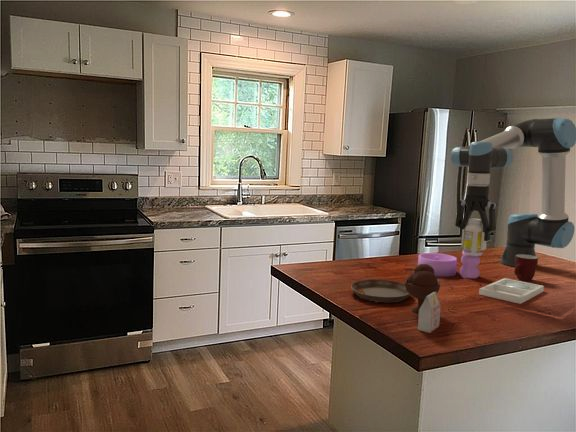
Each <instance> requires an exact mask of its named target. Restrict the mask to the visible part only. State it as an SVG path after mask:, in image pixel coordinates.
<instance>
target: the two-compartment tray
mask: <svg viewBox="0 0 576 432" xmlns="http://www.w3.org/2000/svg"><path fill="white" fill-rule="evenodd" d="M507 283H518V284H523V285H527V286H529V287H530V291H529V290H525V289H520V288H515V287H510V286H506V284H507ZM544 288H545V285H542V284H541V285H540V284H535V283H532V282H528V281H522V280H518V279H517V280H516V279H511V278H508V277H507V278H506V277H504V278H502V279H499V280H496V281H494V282H492V283H489V284H487V285H484V286H483V287H480V288H478V289H479V290H478V291H479V292H478V295H480V296H484V297H489V298H493V299H498V300H503V301H506V302H511V303H515V304H519V305H520V304H523V303H525V302H527V301H529V300H530V299H533V298H534V297H536V296H538V295H540V294H542V293H543V292H544Z"/></svg>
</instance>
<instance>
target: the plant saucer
mask: <svg viewBox="0 0 576 432" xmlns="http://www.w3.org/2000/svg"><path fill="white" fill-rule="evenodd" d="M350 287H351V290H352V291H353V293H354V294H355V295H356V296H357V297H358V296H359V297H358V298H360V299H362V298H363V299H362V300H364V299H366V300H365V301H367V300H369V301H368V302H371V301H375V302H374V303H378V302H385V303H384V304H390V303H389V302H396V303H400V302H402V301H405V300H406V299H407V298H408V297H409V296H411V295H410V294H409V293H408V292H407V290H406V288H405V283H402V282H399V281H396V280H389V279H377V278H376V279H364V280H363V279H361V280H358V281H357V280H356V281H355V282H353V283H352V284H351V285H350ZM361 289H362V290H363V291H364V292H365V294H363V293H360V292H357V291H358V290H361ZM387 302H388V303H387Z"/></svg>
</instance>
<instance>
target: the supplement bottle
mask: <svg viewBox="0 0 576 432" xmlns="http://www.w3.org/2000/svg"><path fill="white" fill-rule="evenodd" d="M482 232H484V228H483V224H482V220H481V218H472V217H470V219H469V221H468V224H467V225H466V228H465V237H464V247H463V250H464V253H465V254H468V255H475V256H478V255H480V256H481V255H483V253H484V250H481V239H482ZM478 257H479V256H478Z"/></svg>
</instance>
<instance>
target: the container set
mask: <svg viewBox="0 0 576 432" xmlns="http://www.w3.org/2000/svg"><path fill="white" fill-rule="evenodd" d="M461 254H462V256H461V258H460V261H461V264H463V265H461V267H460V269H459V275H460V276H461V278H462V279H477V278H478V277H479V276H480V269H479V267H478V265H479V264H480V263H481V258H480V256H481V255H478V256H475V255H468V254H465V253H464V249H463V250H462V252H461ZM457 263H458V258H457V256H454V255H449V254H445V253H436V252H435V253H434V252H428V253H426V252H425V253H424V252H423V253H420V254H418V260H417V266H418V265H420V264H428V265H430V266H431V267H432V268H433V269H434V275H435V276H436V277H444V278H445V277H447V278H448V277H453V276H456V275H457V266H458V265H457Z"/></svg>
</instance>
